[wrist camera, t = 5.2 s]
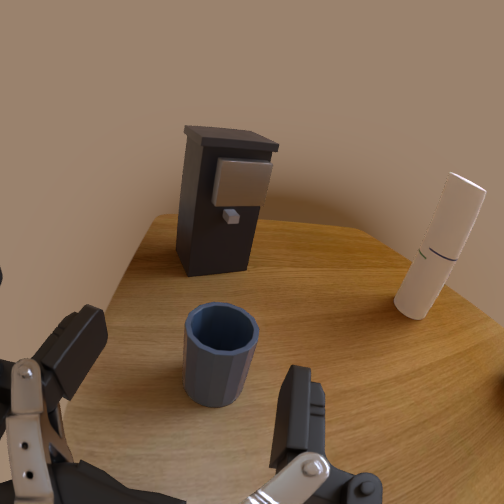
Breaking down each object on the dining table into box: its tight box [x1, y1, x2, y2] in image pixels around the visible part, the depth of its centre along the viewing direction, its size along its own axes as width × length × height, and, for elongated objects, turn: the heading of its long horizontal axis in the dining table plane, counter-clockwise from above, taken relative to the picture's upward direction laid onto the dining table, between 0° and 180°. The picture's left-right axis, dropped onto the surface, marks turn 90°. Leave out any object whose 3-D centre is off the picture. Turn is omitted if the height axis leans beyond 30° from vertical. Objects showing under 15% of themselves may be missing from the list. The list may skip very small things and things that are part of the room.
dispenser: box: [176, 125, 279, 277], centre depth 44 cm, size 11×11×21 cm
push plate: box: [211, 157, 273, 207], centre depth 37 cm, size 2×7×6 cm, turn 116°
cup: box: [182, 302, 259, 407], centre depth 28 cm, size 6×6×9 cm
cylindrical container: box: [394, 172, 487, 320], centre depth 43 cm, size 7×7×25 cm
